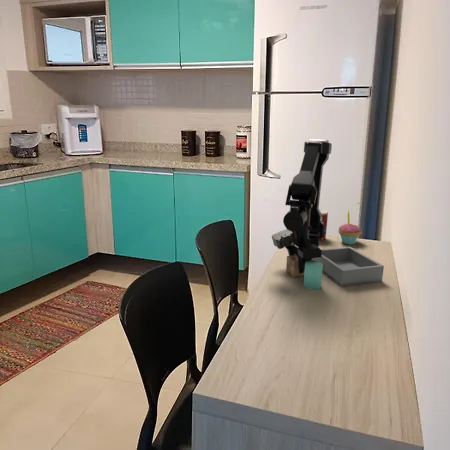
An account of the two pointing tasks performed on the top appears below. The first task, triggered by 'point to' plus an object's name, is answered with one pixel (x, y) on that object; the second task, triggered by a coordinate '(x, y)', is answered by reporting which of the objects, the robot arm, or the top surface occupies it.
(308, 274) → the teal capsule
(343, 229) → the cupcake
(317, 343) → the top surface
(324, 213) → the canned food
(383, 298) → the top surface
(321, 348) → the top surface
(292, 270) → the tan wooden cube
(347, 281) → the grey rectangular tray
